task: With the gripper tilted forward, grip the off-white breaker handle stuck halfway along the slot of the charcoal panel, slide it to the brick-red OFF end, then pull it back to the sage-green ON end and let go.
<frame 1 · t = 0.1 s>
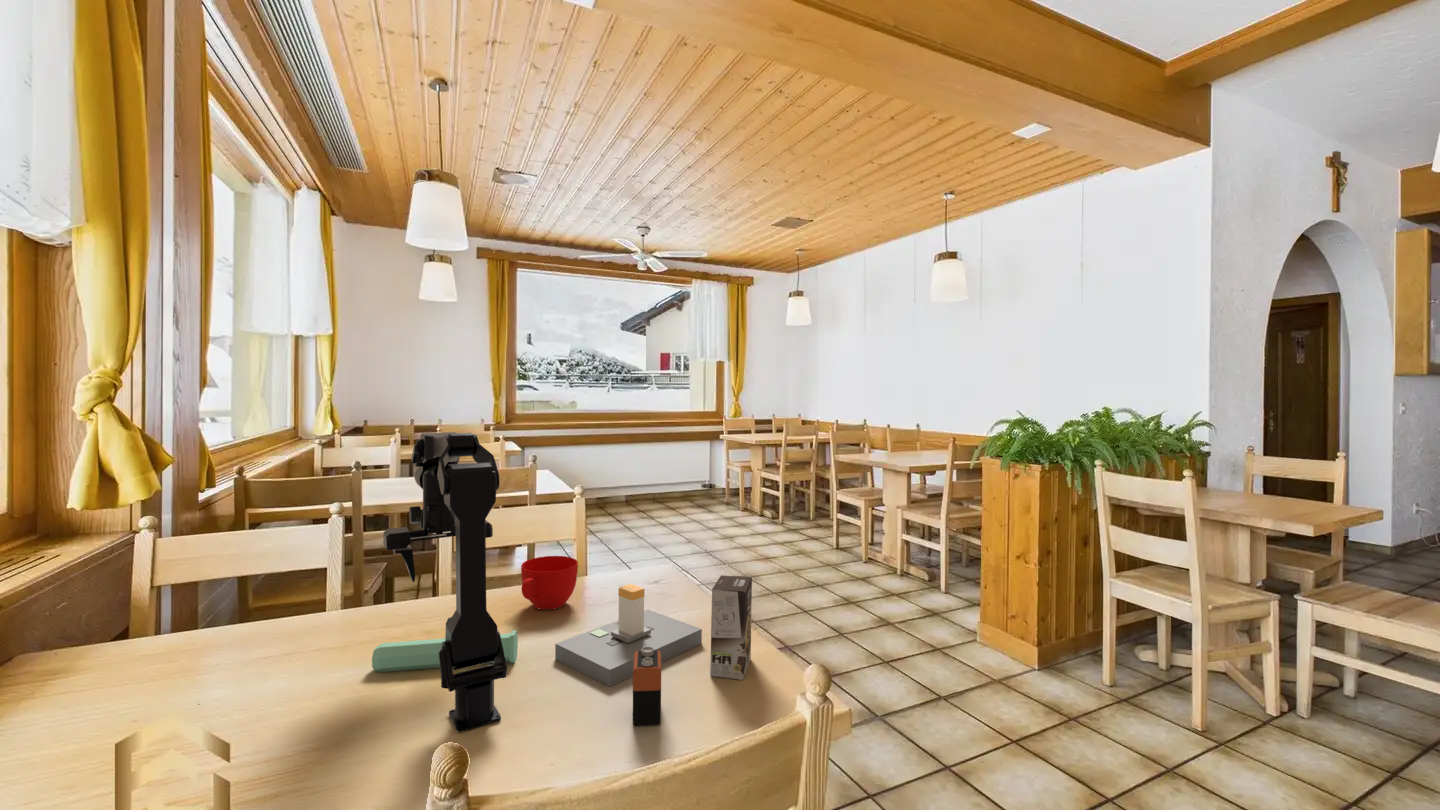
hand: (439, 577, 120), 15 cm above the table, tool pointing down, fingers open, 9 cm apart
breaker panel: (630, 651, 122), on the table
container: (445, 666, 115), on the table
ceramic cup: (545, 608, 144), on the table
coffee box: (731, 668, 116), on the table
battery: (646, 716, 99), on the table
breaker handle: (631, 611, 122), point 8 cm above the table, slide at 3.5 cm
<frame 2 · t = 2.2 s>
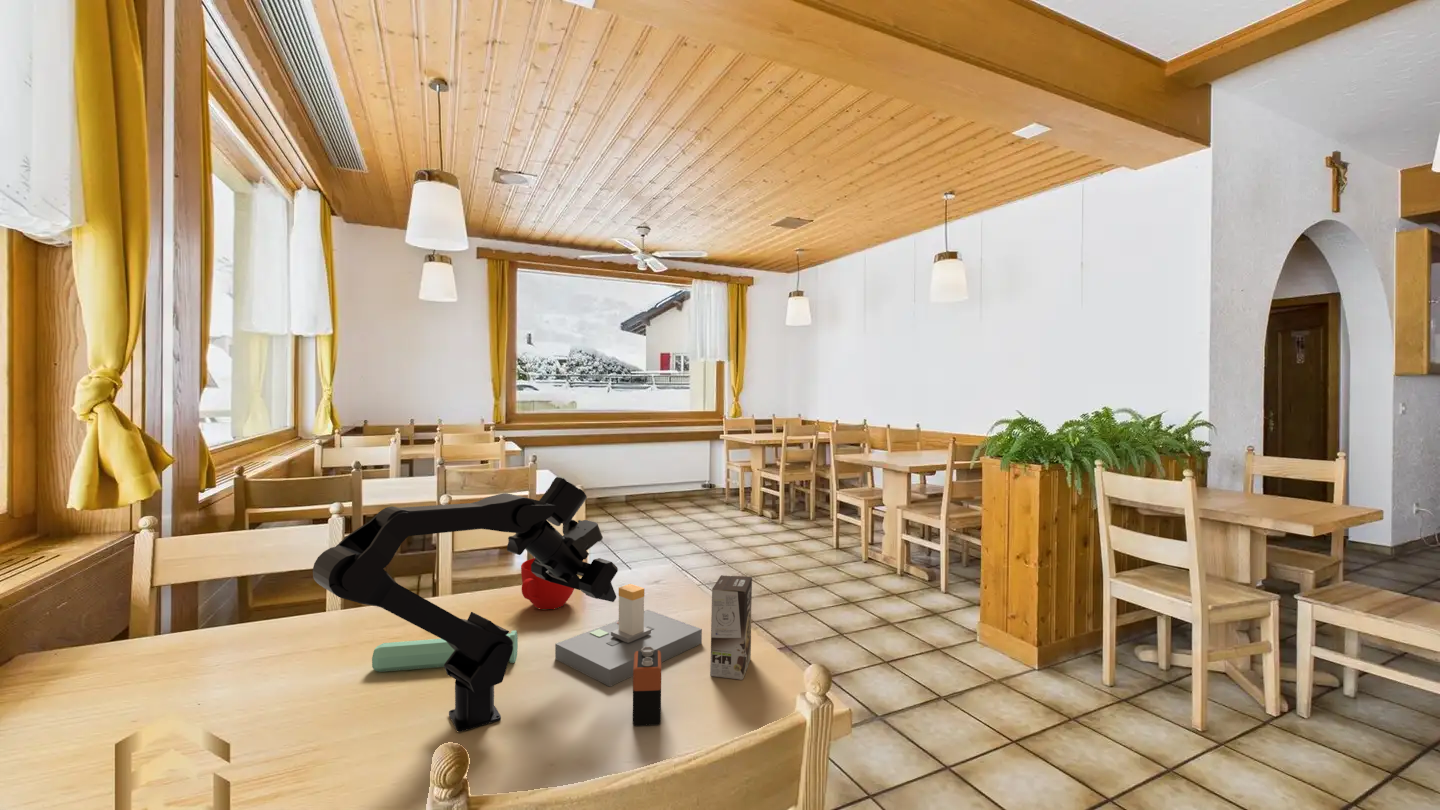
hand: (598, 593, 115), 14 cm above the table, tool tilted 45°, fingers open, 9 cm apart
nothing on the table moved.
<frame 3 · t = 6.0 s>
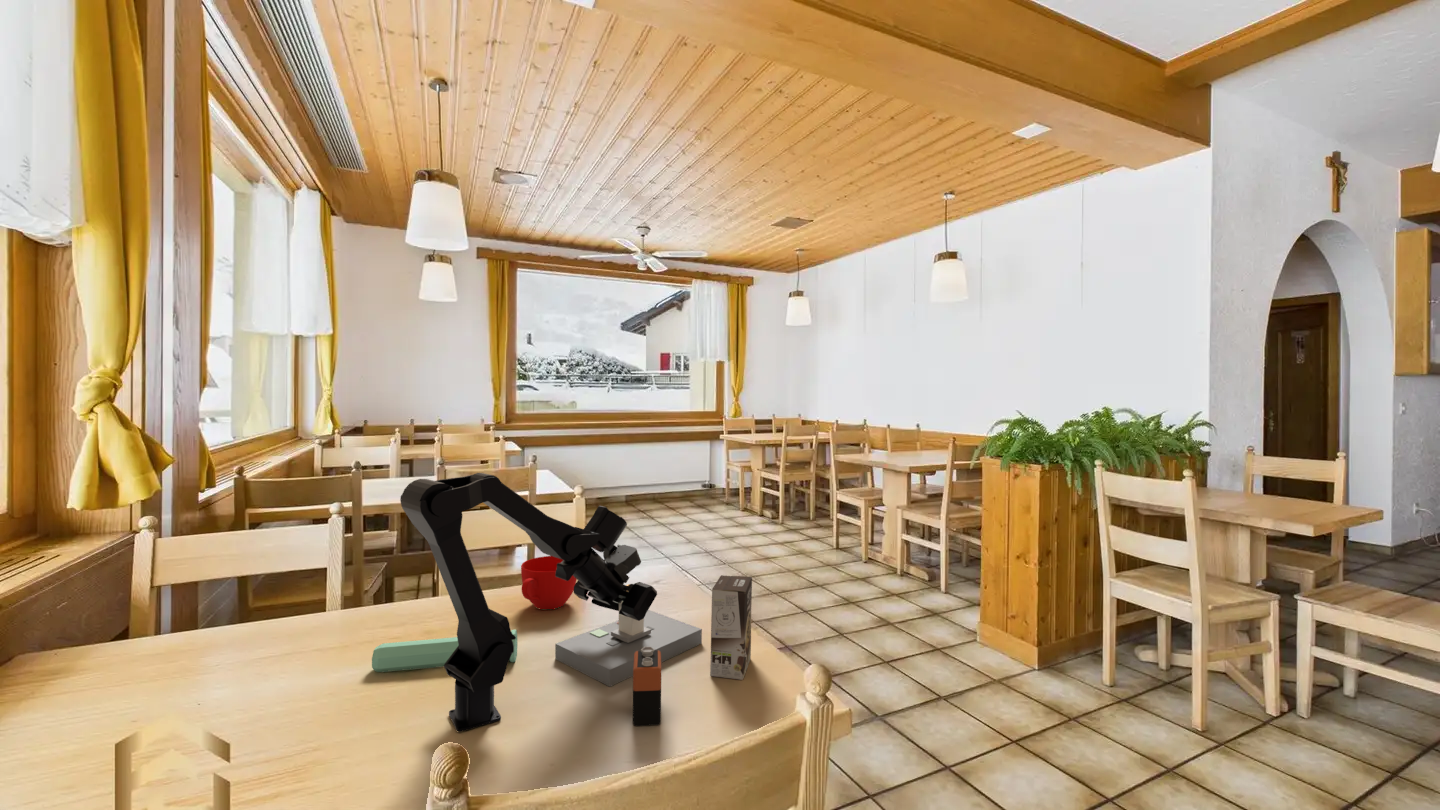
hand: (636, 613, 123), 7 cm above the table, tool tilted 45°, fingers closed on breaker handle, 4 cm apart
breaker handle: (631, 611, 122), point 8 cm above the table, slide at 3.5 cm, touching gripper
everything else where it was.
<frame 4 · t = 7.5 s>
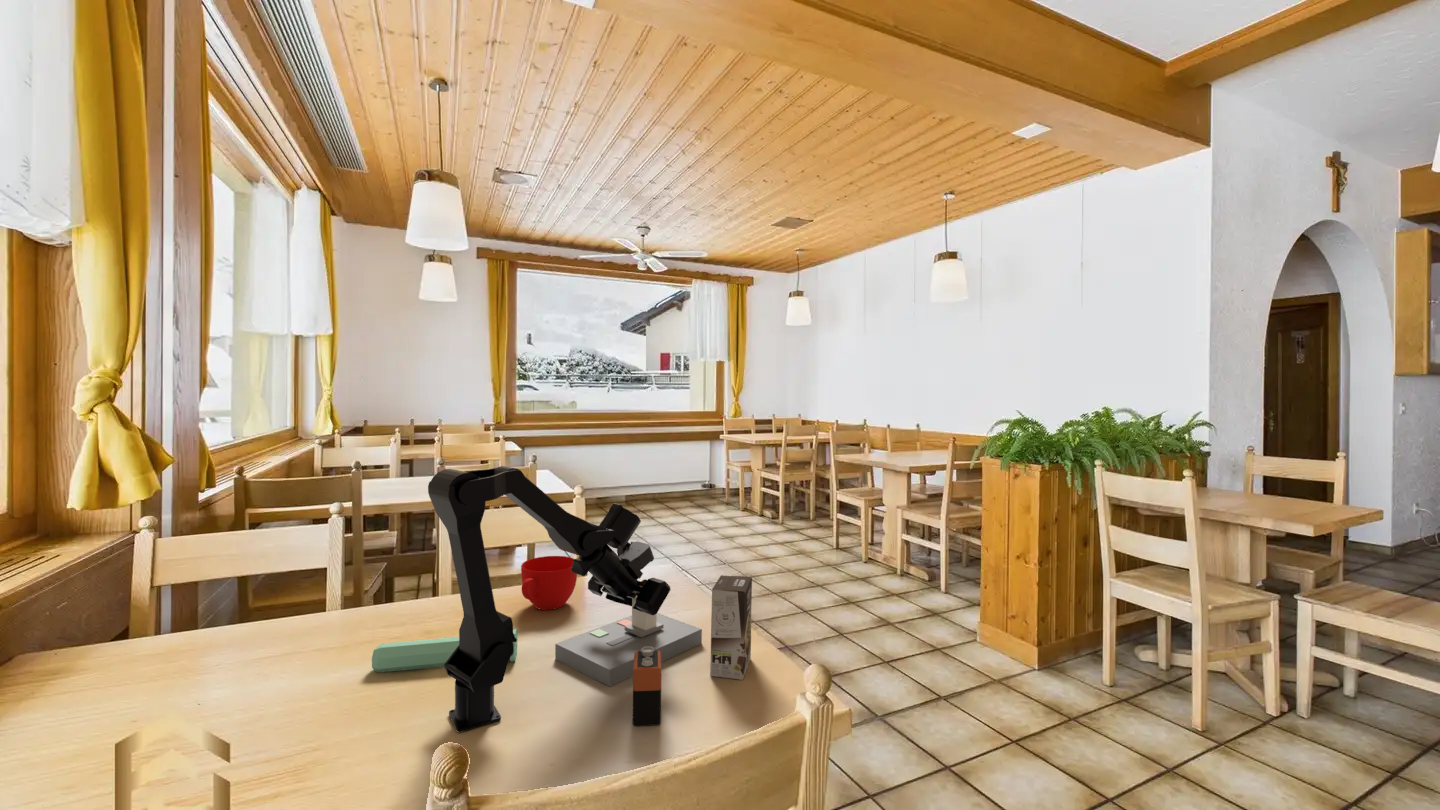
hand: (649, 609, 125), 7 cm above the table, tool tilted 45°, fingers closed on breaker handle, 4 cm apart
breaker handle: (644, 606, 124), point 8 cm above the table, slide at 7.0 cm, touching gripper
everything else where it was.
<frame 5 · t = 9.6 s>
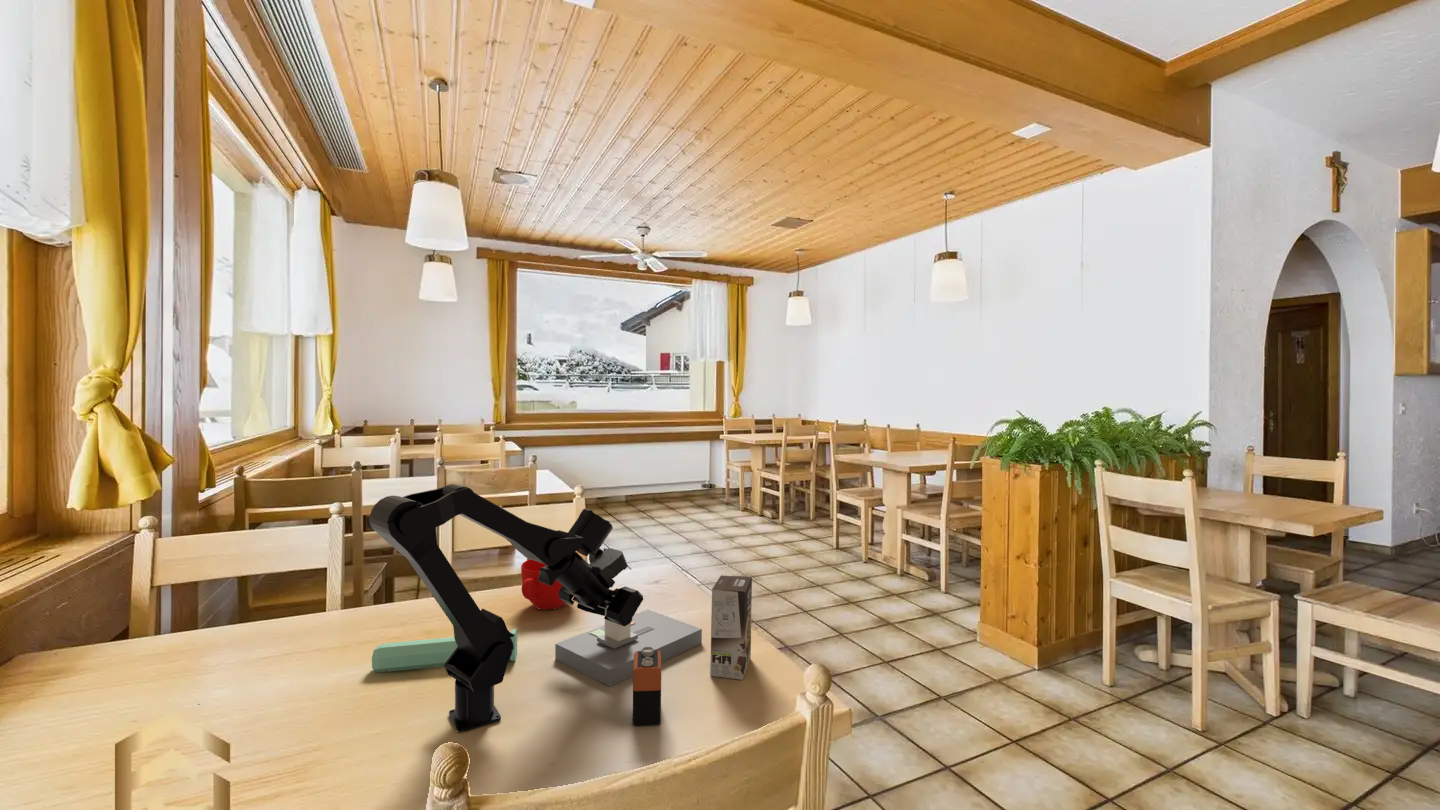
hand: (623, 618, 120), 7 cm above the table, tool tilted 45°, fingers closed on breaker handle, 4 cm apart
breaker handle: (617, 616, 119), point 8 cm above the table, slide at 0.0 cm, touching gripper
everything else where it was.
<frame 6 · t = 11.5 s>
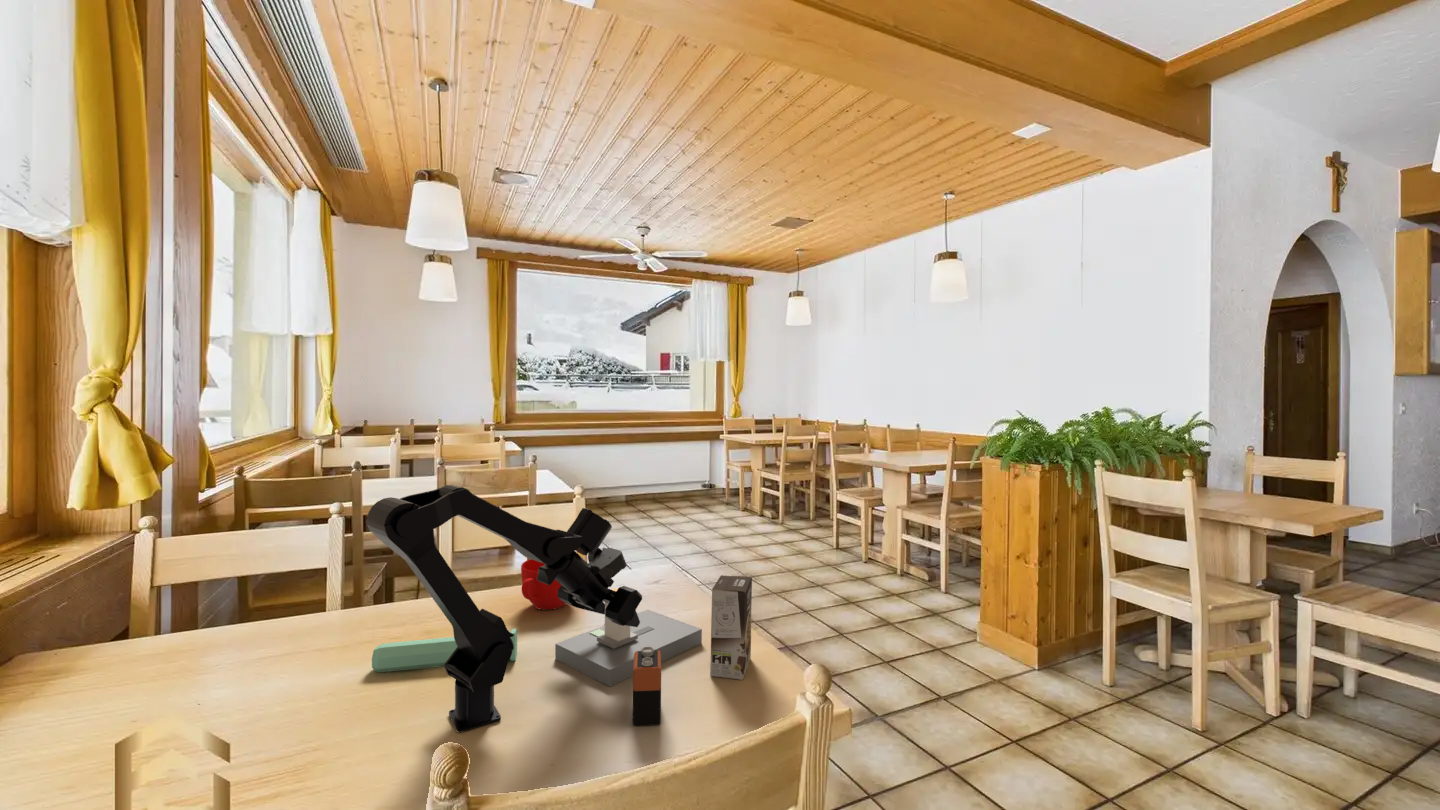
hand: (622, 618, 120), 7 cm above the table, tool tilted 45°, fingers open, 9 cm apart
breaker handle: (617, 616, 119), point 8 cm above the table, slide at 0.0 cm
everything else where it was.
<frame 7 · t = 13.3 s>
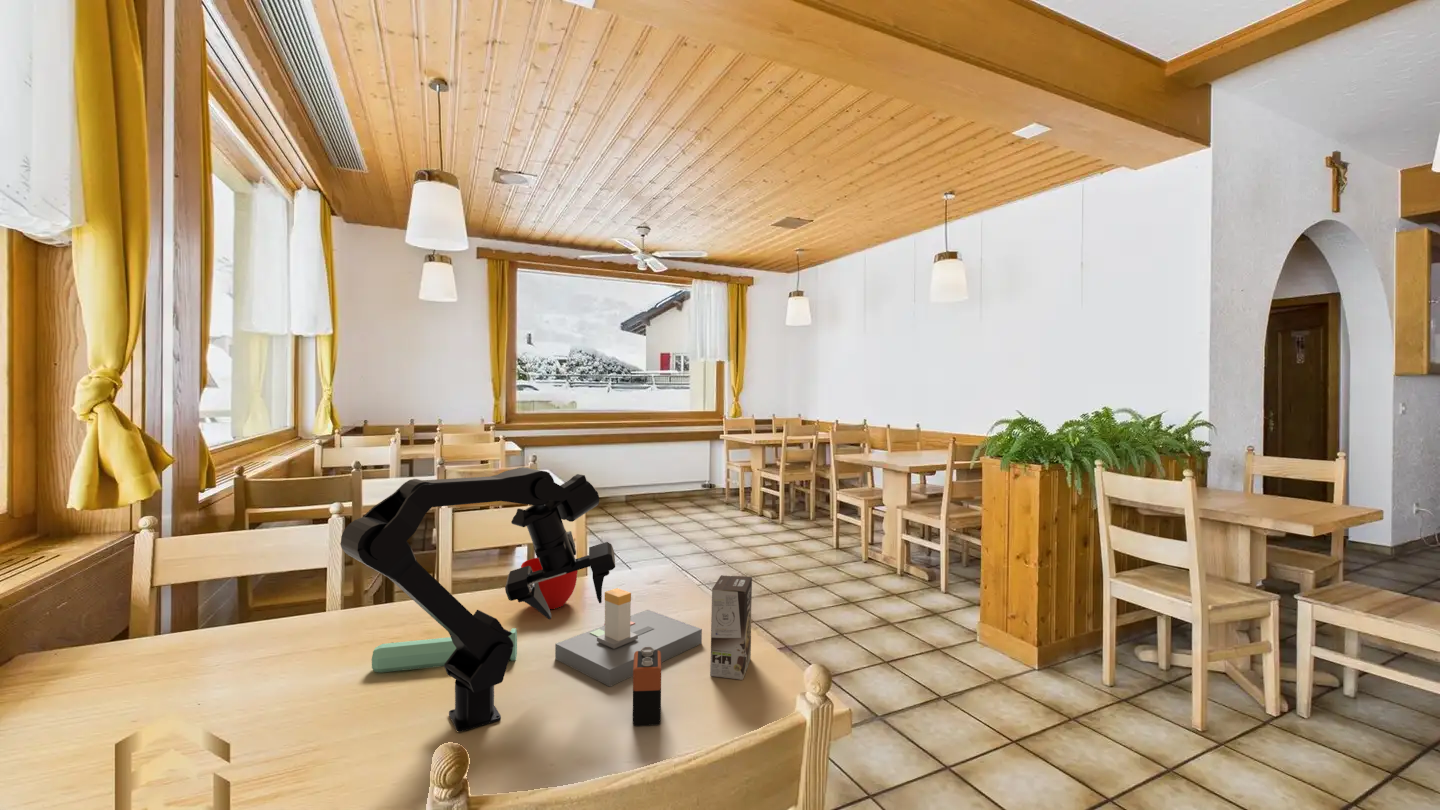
hand: (575, 609, 111), 12 cm above the table, tool tilted 20°, fingers open, 9 cm apart
nothing on the table moved.
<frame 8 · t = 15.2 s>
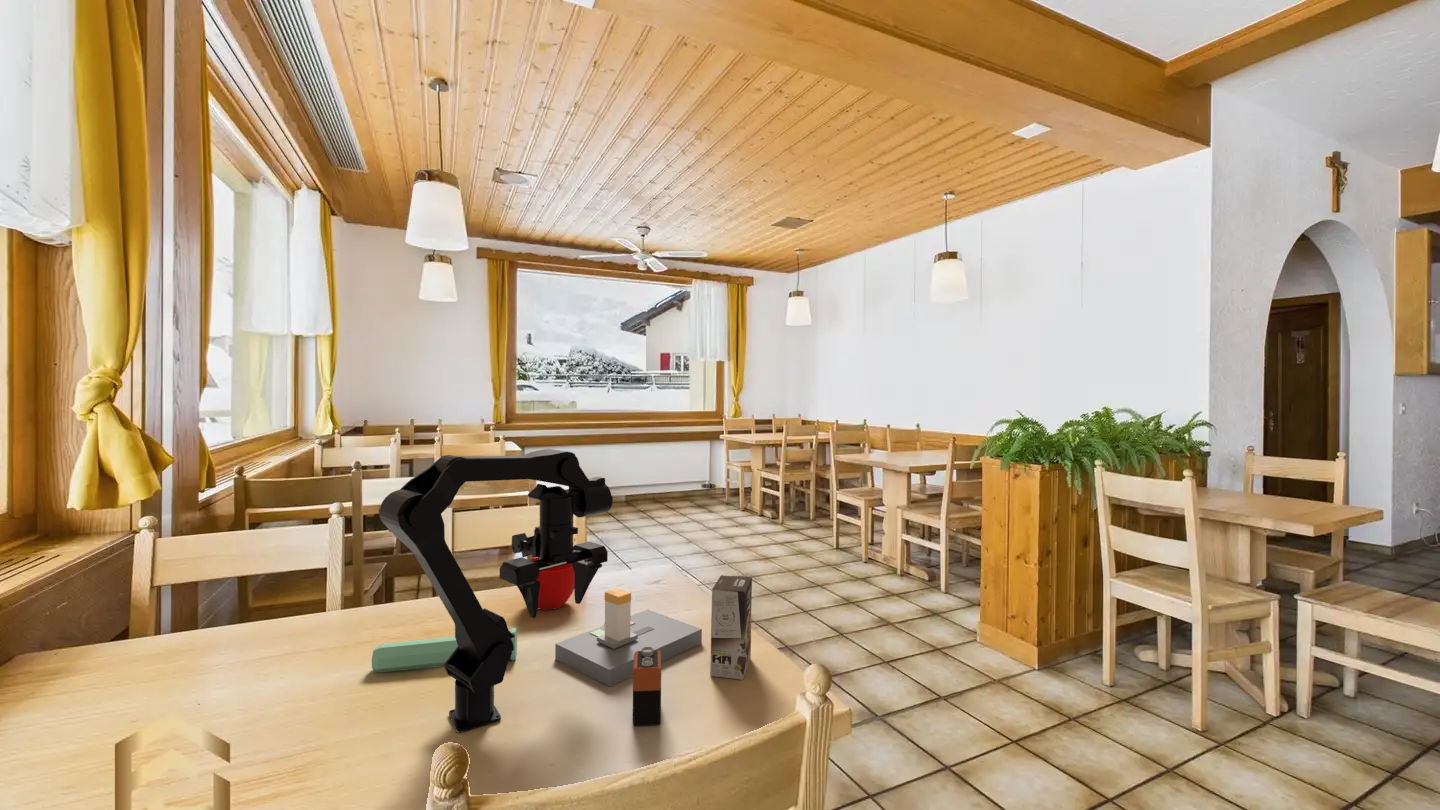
hand: (556, 610, 108), 13 cm above the table, tool pointing down, fingers open, 9 cm apart
nothing on the table moved.
at the end: breaker handle slide at 0.0 cm; the gripper is holding nothing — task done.
